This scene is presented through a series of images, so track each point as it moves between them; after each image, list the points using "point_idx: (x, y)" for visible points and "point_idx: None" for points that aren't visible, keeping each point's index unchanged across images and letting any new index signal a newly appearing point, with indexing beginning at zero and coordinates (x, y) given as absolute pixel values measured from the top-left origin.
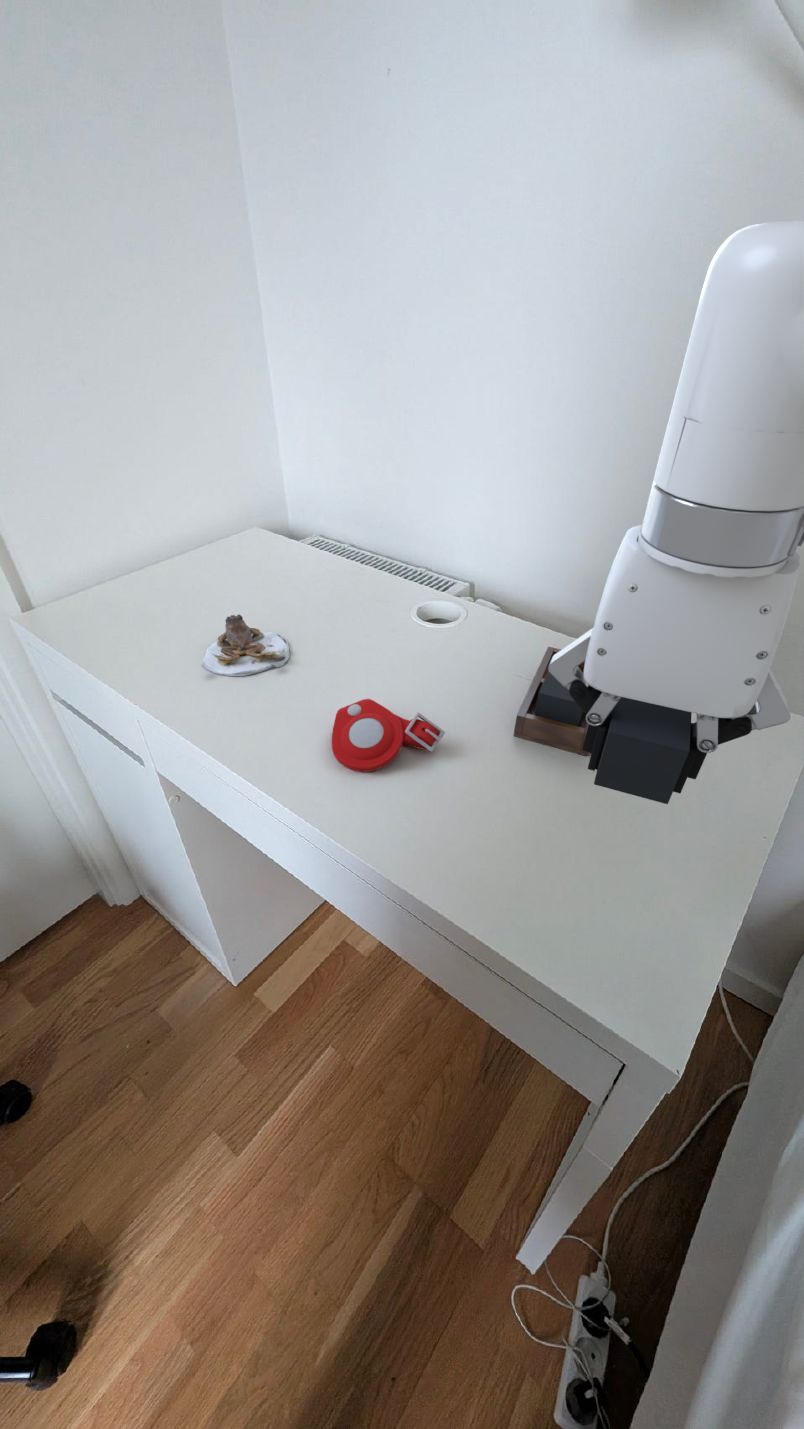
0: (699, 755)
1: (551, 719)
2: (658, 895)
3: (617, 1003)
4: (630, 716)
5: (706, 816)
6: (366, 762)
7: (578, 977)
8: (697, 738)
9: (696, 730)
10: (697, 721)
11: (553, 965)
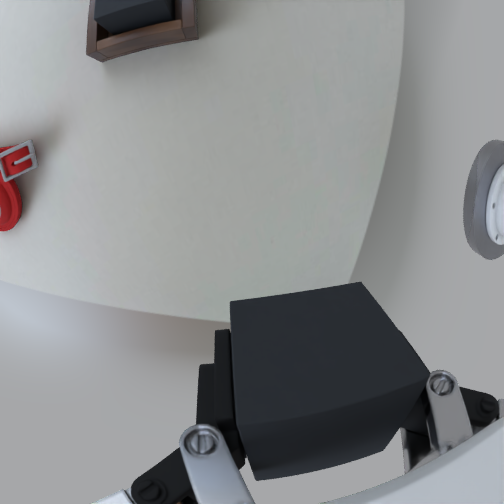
0: None
1: (132, 25)
2: (318, 208)
3: None
4: (287, 458)
5: (350, 80)
6: (10, 222)
7: None
8: (402, 440)
9: (410, 420)
10: (405, 471)
11: None
